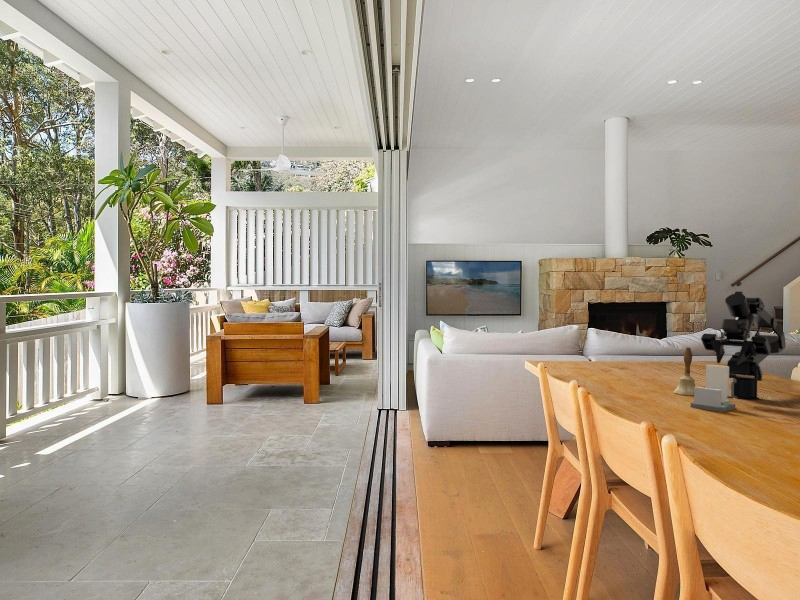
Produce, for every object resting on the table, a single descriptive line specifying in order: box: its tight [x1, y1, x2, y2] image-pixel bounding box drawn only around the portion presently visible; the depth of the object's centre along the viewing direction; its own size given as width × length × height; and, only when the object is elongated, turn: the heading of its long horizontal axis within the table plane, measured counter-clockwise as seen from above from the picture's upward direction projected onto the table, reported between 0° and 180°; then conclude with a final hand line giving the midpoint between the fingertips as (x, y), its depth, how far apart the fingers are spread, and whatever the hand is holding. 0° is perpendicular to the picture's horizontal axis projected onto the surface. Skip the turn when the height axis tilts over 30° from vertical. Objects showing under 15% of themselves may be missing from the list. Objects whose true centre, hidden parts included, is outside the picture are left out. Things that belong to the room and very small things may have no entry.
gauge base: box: [690, 386, 736, 413], centre depth 168 cm, size 10×9×6 cm
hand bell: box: [673, 346, 697, 397], centre depth 192 cm, size 8×8×16 cm
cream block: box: [705, 364, 734, 403], centre depth 170 cm, size 2×9×11 cm, turn 39°
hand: (727, 363), depth 175 cm, fingers open, 5 cm apart
